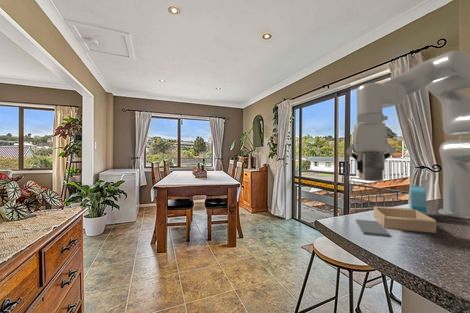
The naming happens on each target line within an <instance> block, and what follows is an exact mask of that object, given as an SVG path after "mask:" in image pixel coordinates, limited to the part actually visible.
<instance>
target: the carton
mask: <svg viewBox="0 0 470 313" xmlns="http://www.w3.org/2000/svg"><path fill="white" fill-rule="evenodd" d="M373 218H374V219H375V221H377V222H378V223H379V224H380V225H381V226H382V227H383V228H384V229H392V230H394V229H395V230H401V231H413V232H423V233H435V234H437V223H438V221H437V220H436V219H434V218H432V217H431V216H428V214H427V215H425V214H423V213H421V212H419V211H417V210H414V209H410V207H409V208H408V207H407V208H406V207H405V208H404V207H393V206H392V207H390V206H389V207H388V206H377V205H374V207H373Z"/></svg>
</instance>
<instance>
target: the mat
mask: <svg viewBox="0 0 470 313" xmlns="http://www.w3.org/2000/svg"><path fill="white" fill-rule="evenodd" d="M355 223H356V224H357V226H358V227H359V229H360V230H361V232H362V234H363V235H370V236H379V237H387V238H388V237H390V233H389V232H388V231H387V229H386V228H384V227H383V226H382V225H381V224H380V223H379V222H378V221H377V220H369V219H368V220H367V219H357V218H355Z"/></svg>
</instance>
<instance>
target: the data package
mask: <svg viewBox="0 0 470 313" xmlns="http://www.w3.org/2000/svg"><path fill="white" fill-rule="evenodd" d="M409 206H410V207H409V209H414V210H417V211H419V212H421V213H423V214H425V215H427V216H428V212H427V190H426V188H425V187H424V186H420V185H419V186H415V185H409Z"/></svg>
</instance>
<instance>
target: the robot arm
mask: <svg viewBox="0 0 470 313" xmlns="http://www.w3.org/2000/svg"><path fill="white" fill-rule="evenodd" d="M424 87H426V89H427V90H428V91H429V93H430V94H432V95H433V96H434V97H435V98H436V99H437V100H438V101H439V102H440V104H441V110H442V127H443V129H442V130H443V132H444V134H445V135H447V136H450V137H463V136H465V137H466V136H470V95H469V94H468V93H466V92H464V91H463V90H464V89H468V88H470V55H469V54H468V53H465V52H464V51H460V50H459V51H458V50H451V51H448V52H446V53H445V52H444V53H443V54H440V55H438V56H435V57H432V58H429V59H427V60H425V61H422V62H420V63H419V64H417V65H415V66H413V67H412V68H409V69H408V70H407V71H404V72H402V73H401V74H399V75H398V74H397V75H396V76H394V77H393V78H391V79H389V80H386V81H385V82H383V83H378V82H371V83H370V82H369V83H365V84H362V85H360V86H358V87H357V90H356V124H355V125H354V127H353V131H352V144H351V145H350V146H349V147H348V148H347V150H345V154H348V156H351V157H352V158H353V159H354V160H355V161H356V170H357V171H358V173H359V172H360V173H362V172H363V162H362V160H361V158H362V153H383V171H384V170H385V164H384V163H385V161H386V160H387V159H388V158H389V157H390V156H392V155H393V154H395V153H396V151H397V150H396V149H395V147H393V146H392V145H391V144H390V143H389V139H388V138H389V137H388V132H387V126H386V123H385V122H384V121H387V120H388V119H389V117H388V115H384V112H383V109H386V108H390V107H395V106H398V105H400V104H402V103H404V101H405V100H406V98H407V97H408V96H409V95H411V94H414V93H417V92H418V91H420V90H421V89H423V88H424ZM462 89H463V90H462ZM438 150H439V152H438V153H439V156H440V160H441V165H442V200H443V201H442V203H443V204H442V206H443V208H439V209H438V213H439V214H441V215H444V216H446V217H447V216H448V217H453V218H459V219H466V220H470V164H469V163H470V138H458V139H451V140H446V141H444V142H443V143H441V144H440V146H439V148H438ZM385 152H386V153H385ZM355 153H357V154H355Z"/></svg>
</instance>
